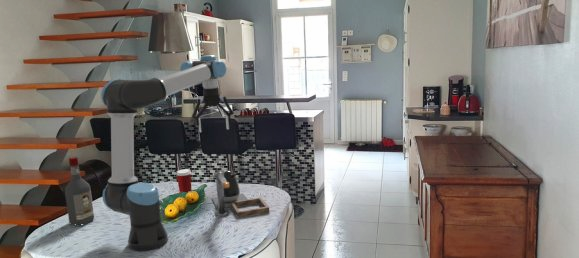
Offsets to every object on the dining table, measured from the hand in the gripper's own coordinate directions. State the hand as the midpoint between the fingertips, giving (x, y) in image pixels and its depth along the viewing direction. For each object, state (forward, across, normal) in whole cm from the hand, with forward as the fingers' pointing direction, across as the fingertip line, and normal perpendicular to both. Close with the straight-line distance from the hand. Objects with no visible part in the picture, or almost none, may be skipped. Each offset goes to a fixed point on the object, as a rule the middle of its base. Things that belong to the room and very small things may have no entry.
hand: (214, 130), depth 228 cm
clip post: (+35, -3, -24) cm, 42 cm away
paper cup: (+35, -16, +8) cm, 39 cm away
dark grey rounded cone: (+34, +4, -9) cm, 36 cm away
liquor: (+35, -64, -5) cm, 73 cm away
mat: (+35, +4, -9) cm, 36 cm away
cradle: (+35, +10, -24) cm, 43 cm away
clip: (+17, -3, -32) cm, 36 cm away
